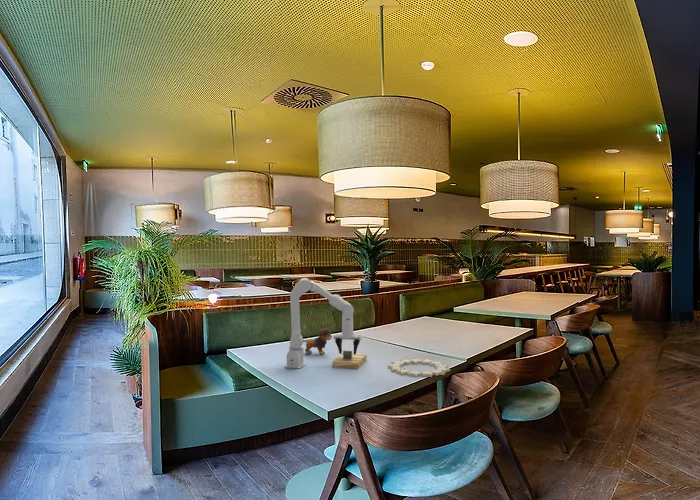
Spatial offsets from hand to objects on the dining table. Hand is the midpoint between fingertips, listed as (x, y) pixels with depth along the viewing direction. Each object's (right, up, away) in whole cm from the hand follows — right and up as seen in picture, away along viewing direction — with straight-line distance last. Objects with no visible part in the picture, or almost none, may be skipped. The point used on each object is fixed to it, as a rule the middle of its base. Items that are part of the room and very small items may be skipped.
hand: (347, 353), depth 227 cm
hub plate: (+1, -5, +1) cm, 5 cm away
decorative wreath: (+35, -6, -10) cm, 36 cm away
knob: (0, -5, 0) cm, 5 cm away
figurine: (-19, -5, +22) cm, 29 cm away
